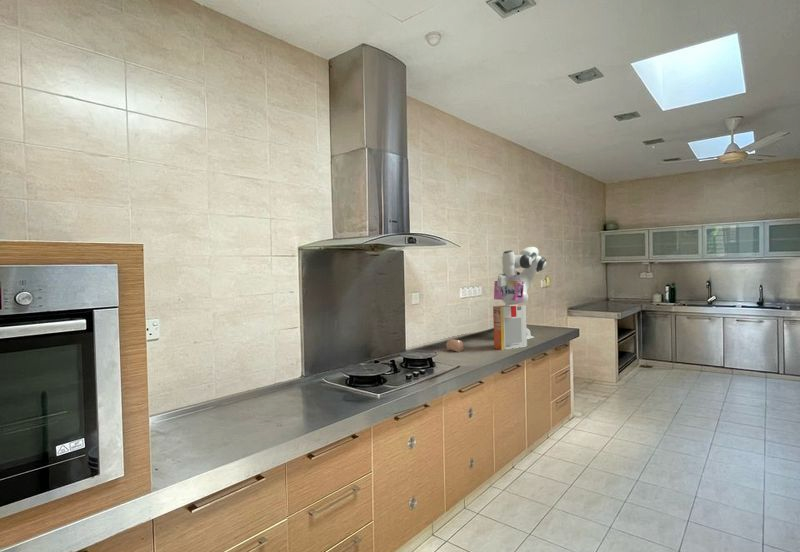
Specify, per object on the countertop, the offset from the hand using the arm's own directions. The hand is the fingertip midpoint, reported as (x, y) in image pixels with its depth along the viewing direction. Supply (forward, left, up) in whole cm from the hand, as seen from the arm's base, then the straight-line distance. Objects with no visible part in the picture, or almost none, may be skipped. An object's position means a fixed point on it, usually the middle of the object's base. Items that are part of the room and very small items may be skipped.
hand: (509, 292), depth 306 cm
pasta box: (0, -1, -40) cm, 40 cm away
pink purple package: (+1, -1, -6) cm, 6 cm away
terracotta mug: (+37, -21, -36) cm, 56 cm away
